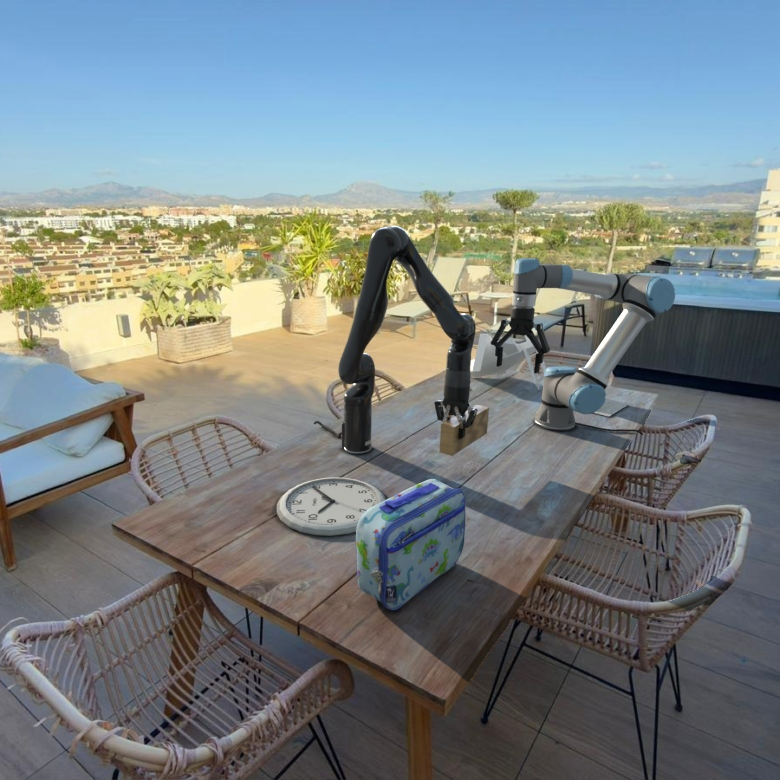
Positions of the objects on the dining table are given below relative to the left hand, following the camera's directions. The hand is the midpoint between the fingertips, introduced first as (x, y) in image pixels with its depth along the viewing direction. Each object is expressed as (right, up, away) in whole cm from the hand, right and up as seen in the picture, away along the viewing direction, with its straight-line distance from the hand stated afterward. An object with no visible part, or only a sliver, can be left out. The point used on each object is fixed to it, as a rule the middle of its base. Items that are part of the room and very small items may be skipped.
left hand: (453, 436), depth 158 cm
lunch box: (-15, -27, -46) cm, 55 cm away
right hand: (+24, +21, +20) cm, 38 cm away
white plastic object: (+37, +17, +99) cm, 107 cm away
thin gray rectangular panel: (+72, +7, +68) cm, 99 cm away
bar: (+4, -3, +7) cm, 9 cm away
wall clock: (-35, -18, -16) cm, 42 cm away
